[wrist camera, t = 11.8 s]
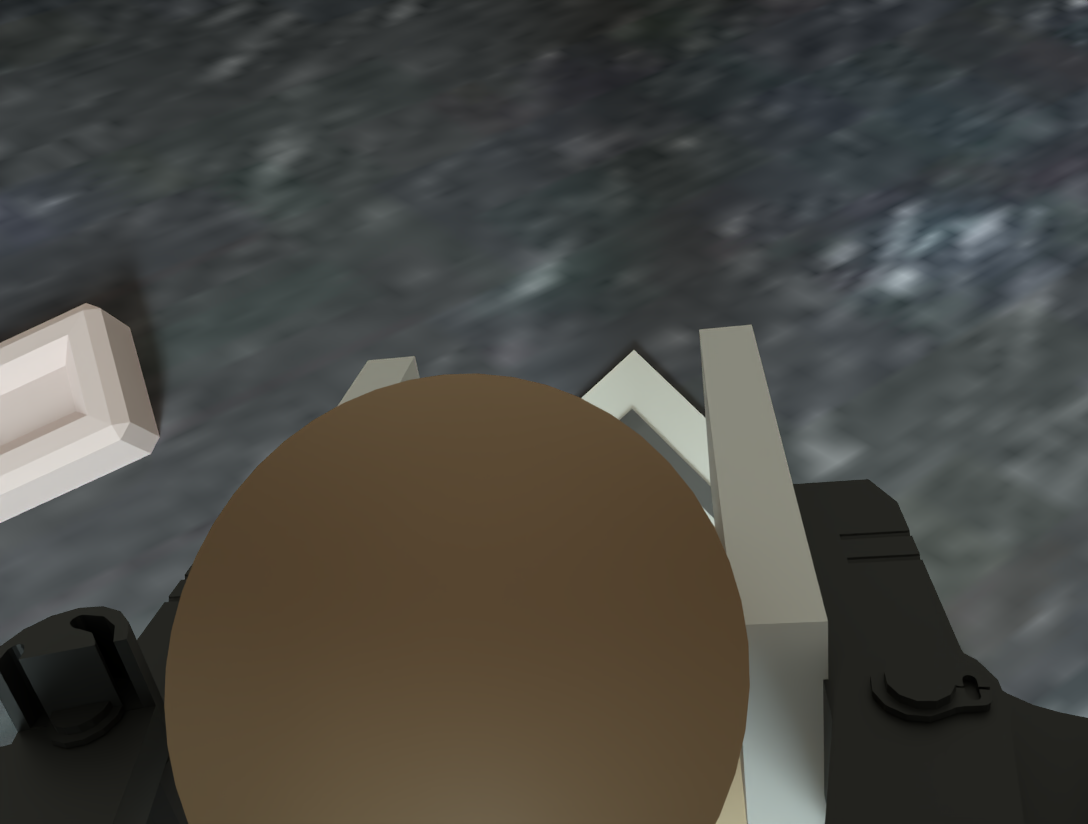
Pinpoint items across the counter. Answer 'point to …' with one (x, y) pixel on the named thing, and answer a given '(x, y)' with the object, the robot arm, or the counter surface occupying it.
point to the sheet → (659, 420)
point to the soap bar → (69, 407)
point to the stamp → (460, 625)
